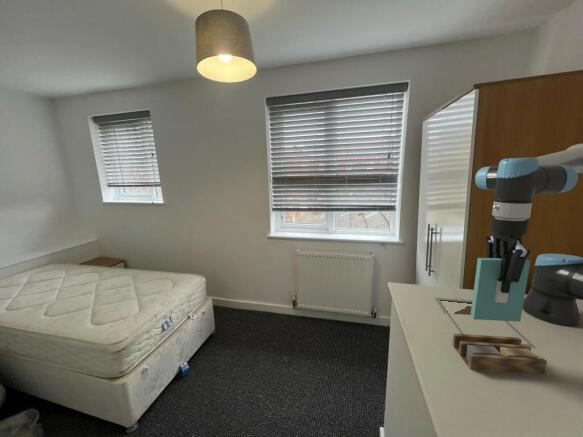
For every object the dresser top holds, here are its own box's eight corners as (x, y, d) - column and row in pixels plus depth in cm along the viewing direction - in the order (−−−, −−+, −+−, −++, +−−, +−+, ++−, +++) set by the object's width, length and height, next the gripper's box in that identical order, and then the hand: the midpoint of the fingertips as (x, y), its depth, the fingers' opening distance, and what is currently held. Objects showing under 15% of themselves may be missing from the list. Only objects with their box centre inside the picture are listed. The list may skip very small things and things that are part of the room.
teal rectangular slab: (515, 318, 70) (525, 258, 67) (520, 321, 69) (530, 260, 65) (470, 316, 72) (477, 257, 69) (473, 319, 70) (481, 259, 67)
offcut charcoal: (492, 359, 70) (494, 346, 69) (499, 367, 67) (501, 354, 66) (465, 357, 71) (467, 344, 70) (471, 365, 68) (473, 352, 67)
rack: (516, 352, 74) (518, 337, 73) (543, 378, 64) (547, 361, 64) (451, 347, 76) (453, 333, 75) (469, 372, 67) (471, 356, 66)
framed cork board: (465, 340, 78) (432, 294, 107) (464, 344, 78) (432, 297, 107) (537, 348, 74) (482, 298, 103) (536, 352, 74) (482, 301, 103)
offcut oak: (525, 361, 69) (527, 348, 68) (534, 369, 66) (537, 356, 65) (498, 359, 70) (500, 347, 69) (505, 367, 67) (508, 354, 66)
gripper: (477, 213, 72) (468, 287, 77) (515, 223, 58) (501, 314, 63) (505, 213, 71) (494, 288, 76) (550, 223, 57) (534, 315, 62)
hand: (497, 299), depth 69 cm, fingers closed on teal rectangular slab, 2 cm apart
